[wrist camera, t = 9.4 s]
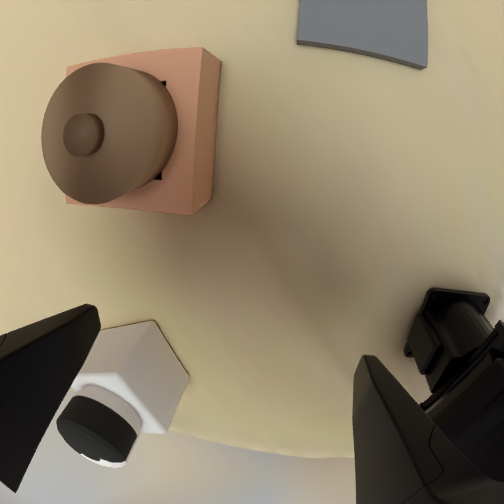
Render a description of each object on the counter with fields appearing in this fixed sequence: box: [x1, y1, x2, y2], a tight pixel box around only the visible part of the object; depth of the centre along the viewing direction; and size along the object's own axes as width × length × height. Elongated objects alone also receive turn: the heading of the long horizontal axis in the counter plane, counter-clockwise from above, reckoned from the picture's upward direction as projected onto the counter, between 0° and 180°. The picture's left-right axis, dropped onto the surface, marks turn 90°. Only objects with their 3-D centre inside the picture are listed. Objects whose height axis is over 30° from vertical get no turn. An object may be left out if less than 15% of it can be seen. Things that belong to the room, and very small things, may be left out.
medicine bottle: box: [57, 321, 189, 468], centre depth 21 cm, size 7×7×12 cm
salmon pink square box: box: [66, 47, 222, 215], centre depth 17 cm, size 9×9×4 cm
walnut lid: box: [41, 62, 178, 204], centre depth 13 cm, size 7×7×4 cm
